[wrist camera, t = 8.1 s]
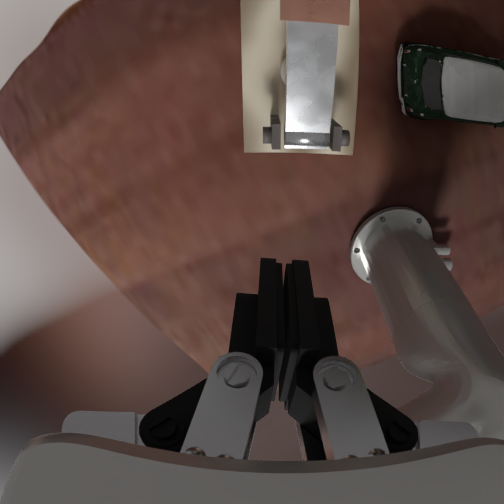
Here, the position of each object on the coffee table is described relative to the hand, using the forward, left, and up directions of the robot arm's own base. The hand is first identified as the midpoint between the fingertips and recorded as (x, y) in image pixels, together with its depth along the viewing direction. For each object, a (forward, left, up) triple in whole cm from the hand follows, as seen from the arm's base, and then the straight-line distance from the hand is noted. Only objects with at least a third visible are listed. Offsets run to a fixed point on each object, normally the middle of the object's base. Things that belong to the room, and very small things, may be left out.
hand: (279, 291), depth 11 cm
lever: (-3, -10, -19) cm, 22 cm away
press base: (-3, -9, -26) cm, 28 cm away
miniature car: (-23, -9, -26) cm, 36 cm away
